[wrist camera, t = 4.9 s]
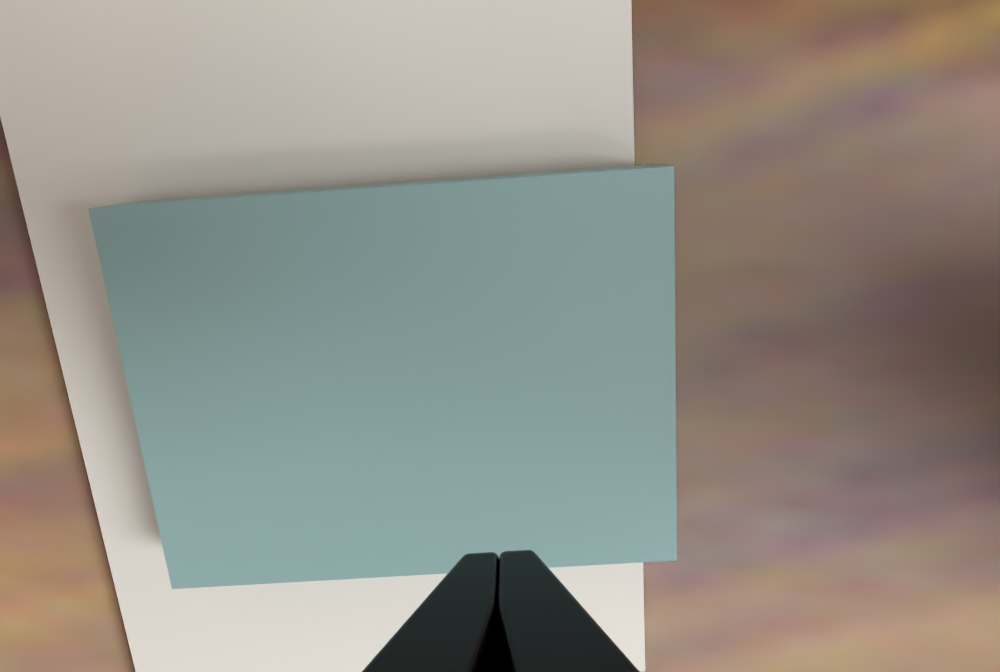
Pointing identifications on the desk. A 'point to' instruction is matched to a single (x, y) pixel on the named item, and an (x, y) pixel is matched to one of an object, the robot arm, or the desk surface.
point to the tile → (402, 373)
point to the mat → (269, 168)
